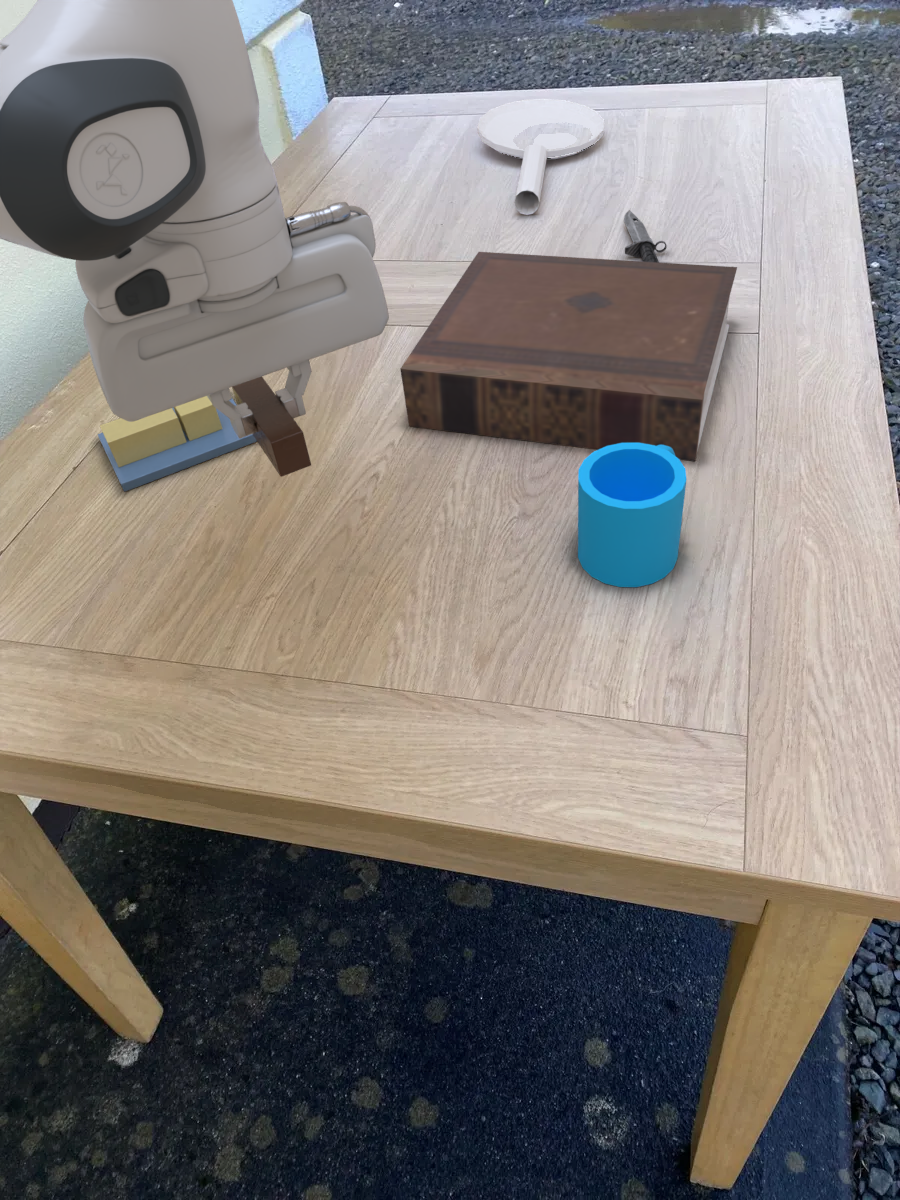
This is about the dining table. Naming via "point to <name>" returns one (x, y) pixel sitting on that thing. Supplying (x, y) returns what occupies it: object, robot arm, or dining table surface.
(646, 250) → the knife
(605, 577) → the mug
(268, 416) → the butter knife
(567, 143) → the frying pan
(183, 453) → the butter dish
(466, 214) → the dining table surface
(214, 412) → the butter pat
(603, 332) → the book
